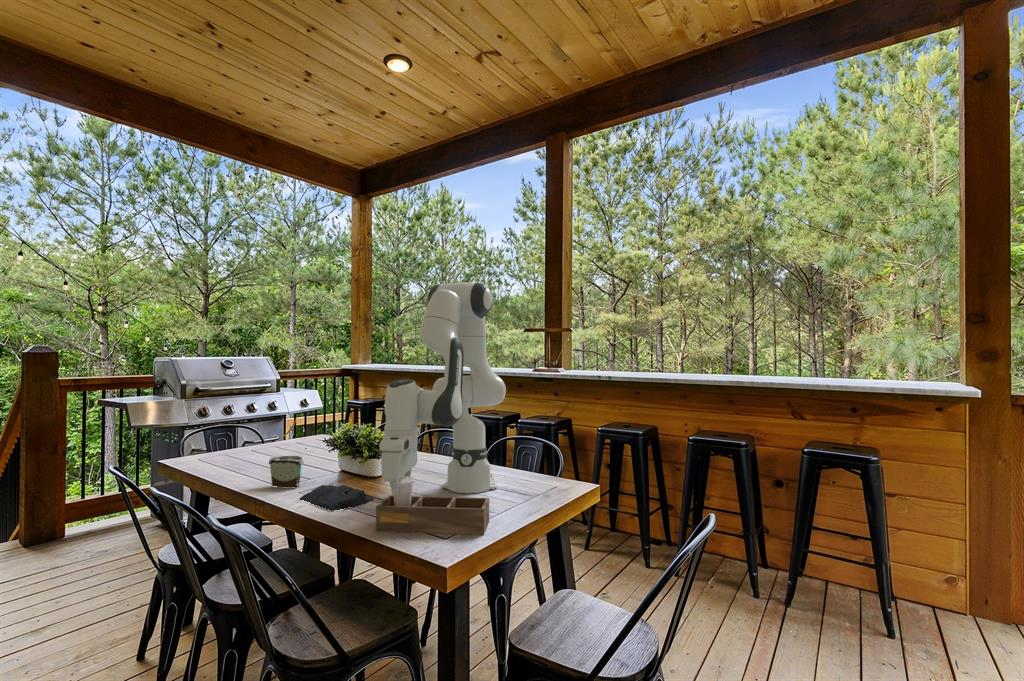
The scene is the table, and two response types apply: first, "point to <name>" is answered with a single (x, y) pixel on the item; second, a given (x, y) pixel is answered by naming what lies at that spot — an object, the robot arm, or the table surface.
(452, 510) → the caddy
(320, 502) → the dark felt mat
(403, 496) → the smoothie
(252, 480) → the table surface
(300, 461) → the food container
